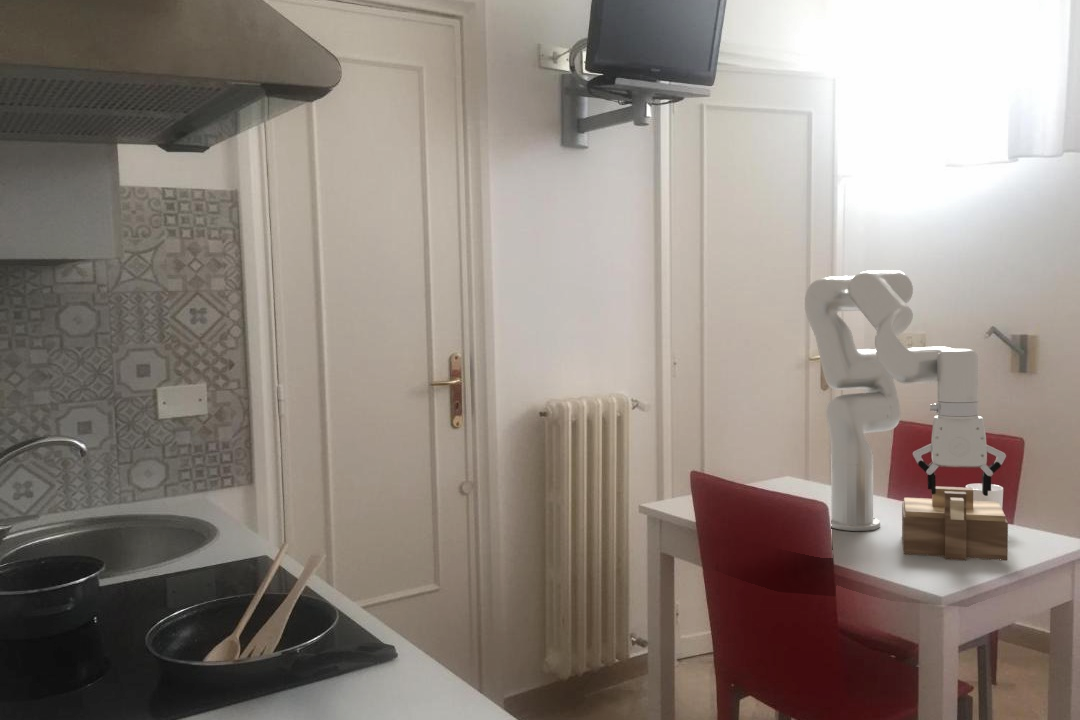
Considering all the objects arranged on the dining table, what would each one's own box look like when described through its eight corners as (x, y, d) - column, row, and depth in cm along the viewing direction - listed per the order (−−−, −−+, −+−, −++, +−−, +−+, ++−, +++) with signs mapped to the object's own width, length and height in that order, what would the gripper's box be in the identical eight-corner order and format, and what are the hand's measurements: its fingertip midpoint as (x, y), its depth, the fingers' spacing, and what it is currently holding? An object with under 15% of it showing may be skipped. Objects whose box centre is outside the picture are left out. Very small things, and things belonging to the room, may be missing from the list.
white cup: (1010, 531, 214) (1011, 488, 213) (984, 535, 211) (984, 492, 210) (983, 523, 221) (984, 482, 220) (957, 527, 218) (957, 485, 218)
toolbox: (902, 536, 212) (902, 476, 211) (999, 542, 205) (999, 479, 204) (903, 556, 197) (903, 491, 196) (1008, 563, 190) (1009, 496, 189)
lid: (904, 506, 211) (904, 480, 210) (997, 511, 204) (998, 483, 204) (905, 521, 199) (905, 492, 198) (1005, 526, 192) (1005, 497, 191)
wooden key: (947, 508, 198) (947, 490, 197) (960, 509, 197) (960, 490, 197) (950, 519, 189) (950, 500, 189) (963, 520, 188) (963, 500, 188)
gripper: (912, 412, 187) (913, 496, 188) (1007, 412, 181) (1008, 499, 182) (911, 407, 194) (912, 488, 195) (1003, 407, 188) (1003, 491, 189)
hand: (959, 493), depth 189 cm, fingers open, 9 cm apart
